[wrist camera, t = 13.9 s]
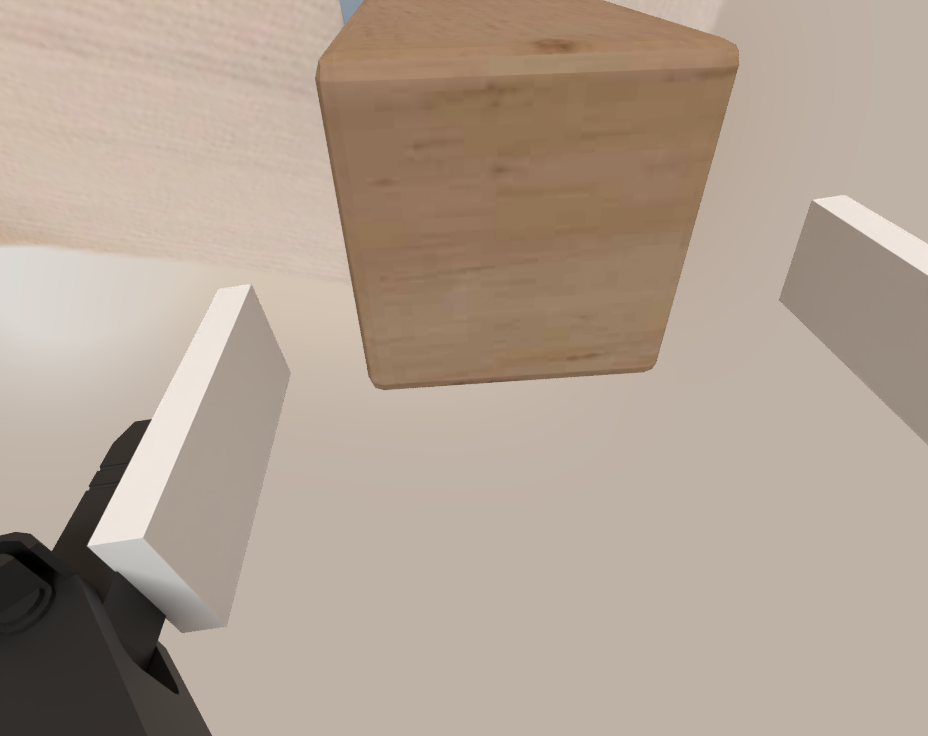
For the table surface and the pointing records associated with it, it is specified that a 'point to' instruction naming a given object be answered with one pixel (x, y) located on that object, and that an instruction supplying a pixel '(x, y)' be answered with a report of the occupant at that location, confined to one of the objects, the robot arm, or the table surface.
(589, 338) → the wooden block
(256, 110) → the table surface
